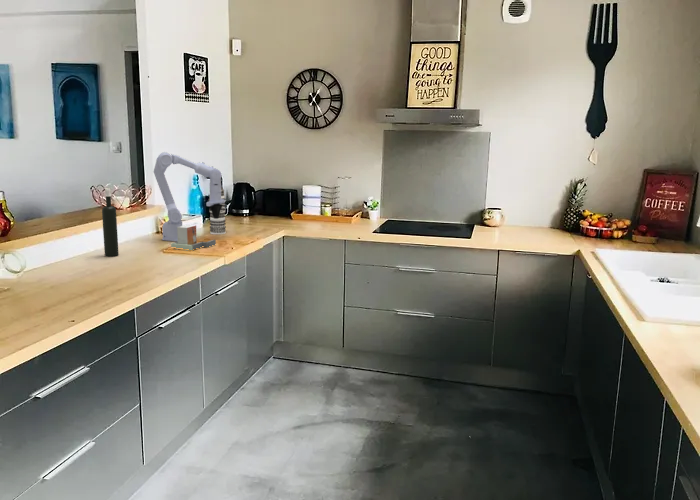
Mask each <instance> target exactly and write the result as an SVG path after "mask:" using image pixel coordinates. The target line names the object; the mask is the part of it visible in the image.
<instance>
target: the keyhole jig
mask: <svg viewBox="0 0 700 500" xmlns="http://www.w3.org/2000/svg"><path fill="white" fill-rule="evenodd" d="M215 244H217V241H216V239H212V240H208V241H200V242H199V241H198V242H197V243H196V244H193V245H186V244H178V241H174V242H171V243H170V248H171V247H176V248H183V249H189V250H193V249H196V248H199V249H201V248H200V247H202V246H204V247H202V248H205V247H208V248H210V247H209V246H211V247H213V246H212V245H214V246H216V245H215ZM196 250H197V249H196ZM193 251H194V250H193Z"/></svg>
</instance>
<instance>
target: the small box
mask: <svg viewBox="0 0 700 500" xmlns="http://www.w3.org/2000/svg"><path fill="white" fill-rule="evenodd" d="M177 236H178V241H177V242H178V244H186V245H193V244H196V243H198V241H197V240H198V238H197V225H194V224H193V225H192V224H185V225H182V226H180V227H177Z"/></svg>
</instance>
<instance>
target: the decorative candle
mask: <svg viewBox="0 0 700 500" xmlns="http://www.w3.org/2000/svg"><path fill="white" fill-rule="evenodd" d="M225 197H226V196H225V189H224V188H223V187H222V186H221V199H225V203H221V204H222V208H221V210H220V214H219V218H218V219H214V218H213V214H212V211H211V209H210V207H209V209H208V210H209V213H210V217H209V225H210V226H209V231H210V232H209V233H210V235H225V234H226V233H227V232H226V231H227V229H226V228H227V227H226V217H225V216H226V215H225V213H226V208H225V207H226V203H227V202H226V199H227V198H225ZM209 201H210V197H209V198H208V202H209Z"/></svg>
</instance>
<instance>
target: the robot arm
mask: <svg viewBox="0 0 700 500" xmlns="http://www.w3.org/2000/svg"><path fill="white" fill-rule="evenodd" d="M172 164H173V165H177V164H180V165H181V166H184V167H187V168H190V169H193V170H194V172H195V173H196V174H198V175H200V176H202V177H203V176H204V177H206V178H209V198H210V201H209V200H208V201H207V202H206V207H209V208H210V209H211V211H212V214H213V218H214V219H218V218H219V214H220V210H221V208H222V204H221V203H225V202H226V200H225V199H226V198H224V199H221V187H222V183H221V181H222V177H223V175H222V172H221V171H220V170H219V169H218V168H215V167H214V166H211V165H207V164H205V162H203V161H202V162H200V161H199V162H197V163H196V162H194V161H191V160H189V159H187V158H184V157H182V156H180V155H177V154H173V153H168V152H167V151H164V152H161V153H159V154H158V157H157V158H156V160H155V165H154V168H153V174H154V177H155V180H156V182H157V185H158V188H159V191H160V193H161V195H162V198H163V199H162V200H163V201H164V204H165V206H166V209H167V217H168V221H165V222H164V223H163V224H162V229H161V230H162V239H161V240H162V241H167V242H178V236H177V227H180V226H183V220H182V218H183V215H182V213H181V211H180V210H179V209H178V208H177V204H176V203H175V200H174V197H173V194H172V191H171V189H170V186H169V184H168V182H167V178H166V175H165V172H166V171H167V169H168V168H169V167H170V166H171V165H172ZM225 204H226V203H225Z"/></svg>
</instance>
